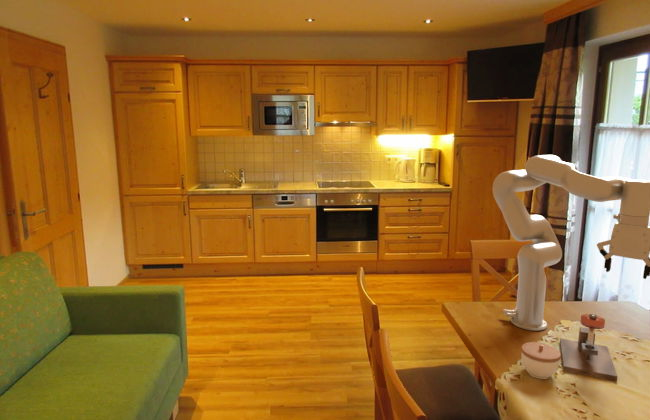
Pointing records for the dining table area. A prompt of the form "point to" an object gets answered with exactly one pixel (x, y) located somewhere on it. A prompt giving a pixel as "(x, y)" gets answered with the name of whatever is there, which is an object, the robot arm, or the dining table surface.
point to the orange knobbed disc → (591, 328)
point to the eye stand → (577, 360)
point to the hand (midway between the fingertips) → (626, 274)
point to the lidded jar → (540, 359)
